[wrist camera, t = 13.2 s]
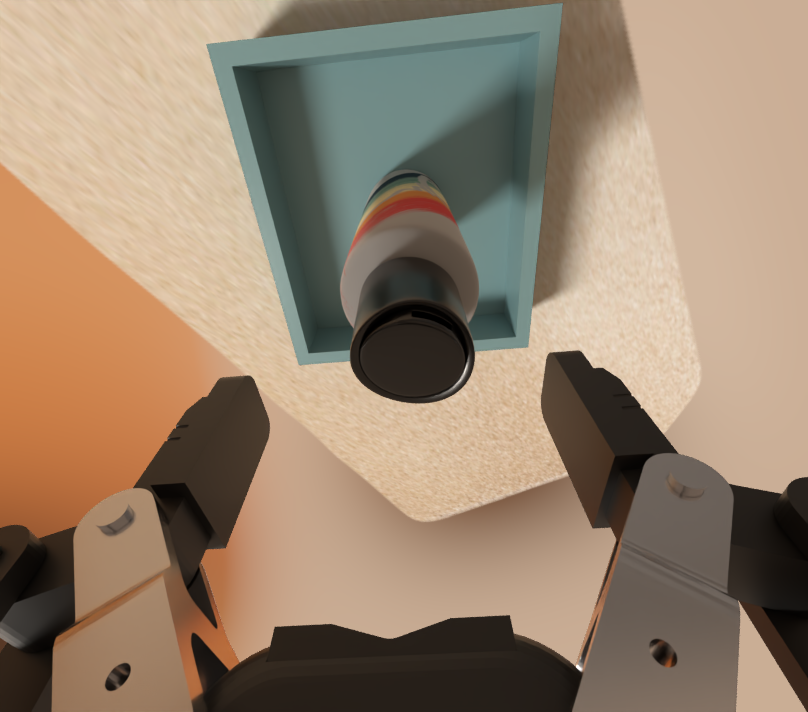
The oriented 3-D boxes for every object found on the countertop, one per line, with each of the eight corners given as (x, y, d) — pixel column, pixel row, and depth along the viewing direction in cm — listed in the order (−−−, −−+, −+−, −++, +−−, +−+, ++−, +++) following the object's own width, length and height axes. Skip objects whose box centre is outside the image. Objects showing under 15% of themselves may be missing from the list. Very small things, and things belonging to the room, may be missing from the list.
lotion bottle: (458, 187, 27) (549, 320, 11) (425, 260, 30) (456, 455, 13) (383, 153, 26) (350, 241, 9) (356, 232, 29) (294, 408, 12)
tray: (240, 54, 24) (206, 44, 20) (533, 21, 23) (562, 2, 19) (311, 333, 35) (298, 365, 31) (512, 317, 34) (528, 347, 30)
